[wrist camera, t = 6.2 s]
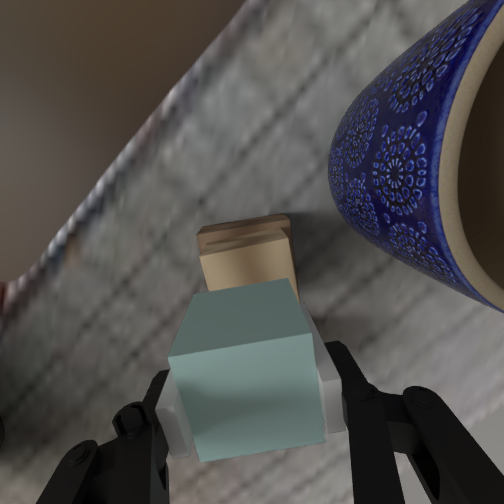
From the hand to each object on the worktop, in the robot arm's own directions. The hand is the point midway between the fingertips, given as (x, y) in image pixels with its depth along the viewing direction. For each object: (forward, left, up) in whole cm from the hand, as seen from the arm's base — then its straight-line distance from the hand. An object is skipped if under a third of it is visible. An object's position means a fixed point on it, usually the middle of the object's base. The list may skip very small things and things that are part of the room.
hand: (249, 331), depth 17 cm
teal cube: (0, 0, 0) cm, 0 cm away
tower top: (0, 0, -12) cm, 12 cm away
